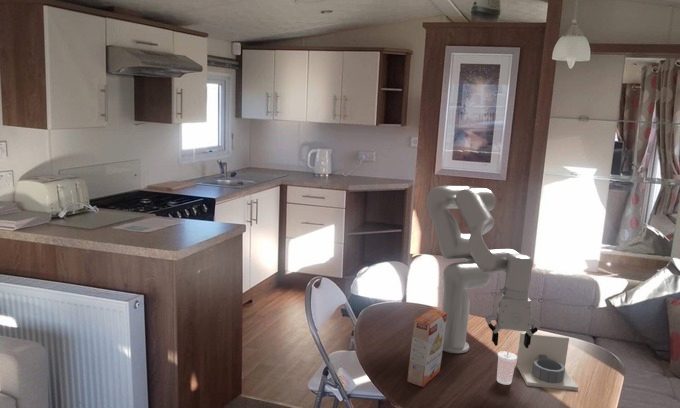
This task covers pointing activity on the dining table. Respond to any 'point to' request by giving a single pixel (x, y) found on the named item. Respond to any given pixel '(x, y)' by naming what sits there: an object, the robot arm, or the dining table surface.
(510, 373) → the beverage cup
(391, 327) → the dining table surface
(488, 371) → the dining table surface
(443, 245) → the robot arm
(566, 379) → the bracket
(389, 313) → the dining table surface
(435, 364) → the cracker box
